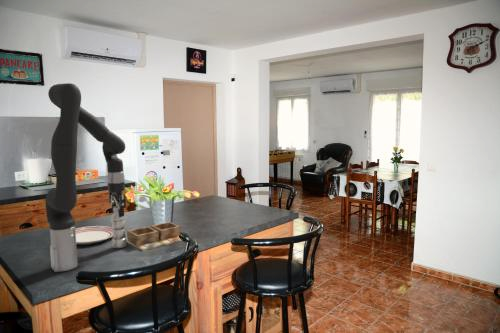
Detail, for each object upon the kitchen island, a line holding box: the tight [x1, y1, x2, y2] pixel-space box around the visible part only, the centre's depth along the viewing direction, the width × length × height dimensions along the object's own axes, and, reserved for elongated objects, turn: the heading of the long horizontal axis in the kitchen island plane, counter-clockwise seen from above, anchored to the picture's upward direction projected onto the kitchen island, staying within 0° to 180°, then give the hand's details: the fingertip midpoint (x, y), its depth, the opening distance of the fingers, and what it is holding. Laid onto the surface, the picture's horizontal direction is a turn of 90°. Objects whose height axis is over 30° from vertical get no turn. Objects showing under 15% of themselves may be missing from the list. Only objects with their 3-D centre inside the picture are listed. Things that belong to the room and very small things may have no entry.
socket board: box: [126, 221, 183, 252], centre depth 180 cm, size 24×18×6 cm
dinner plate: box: [75, 225, 113, 245], centre depth 185 cm, size 27×27×3 cm
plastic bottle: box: [110, 205, 128, 249], centre depth 170 cm, size 6×7×20 cm
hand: (118, 214), depth 169 cm, fingers open, 8 cm apart
